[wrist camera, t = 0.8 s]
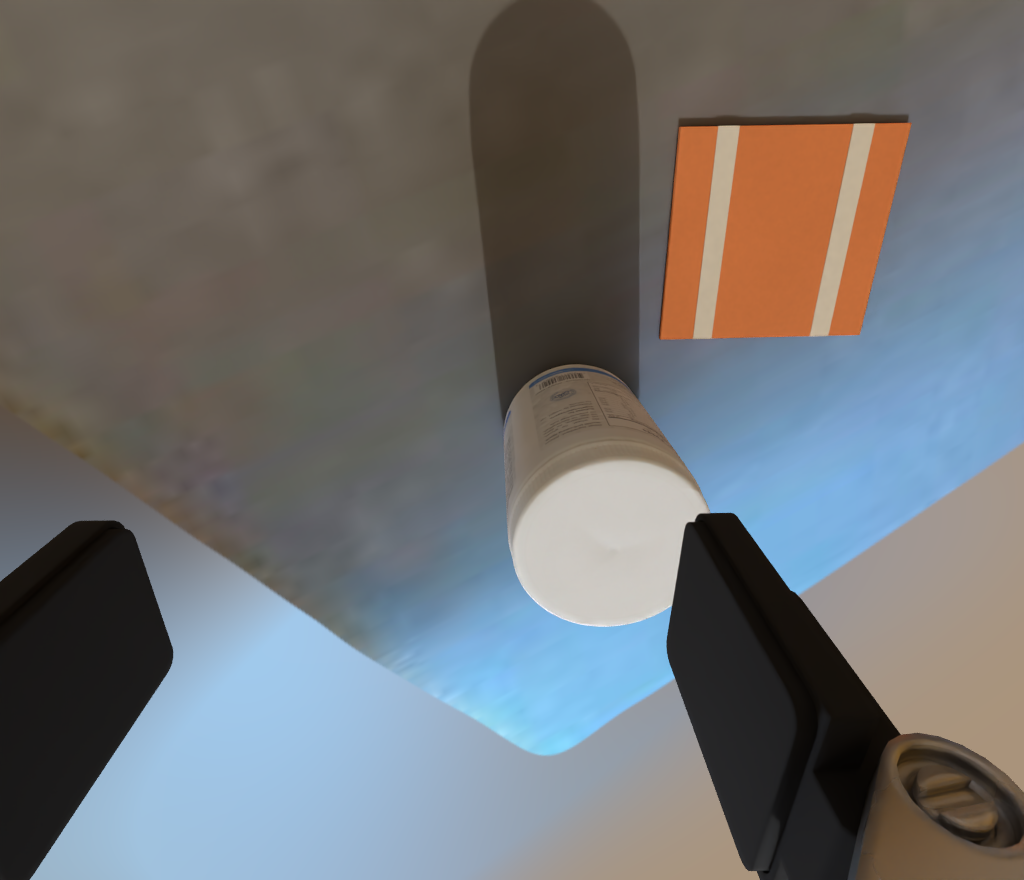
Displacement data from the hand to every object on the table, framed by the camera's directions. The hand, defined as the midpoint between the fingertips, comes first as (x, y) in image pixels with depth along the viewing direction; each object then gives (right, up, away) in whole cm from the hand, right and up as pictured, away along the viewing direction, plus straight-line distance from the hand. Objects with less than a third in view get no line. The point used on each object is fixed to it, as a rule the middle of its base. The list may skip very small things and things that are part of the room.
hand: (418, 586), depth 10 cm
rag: (+18, +15, +24) cm, 33 cm away
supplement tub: (+6, +4, +29) cm, 30 cm away
